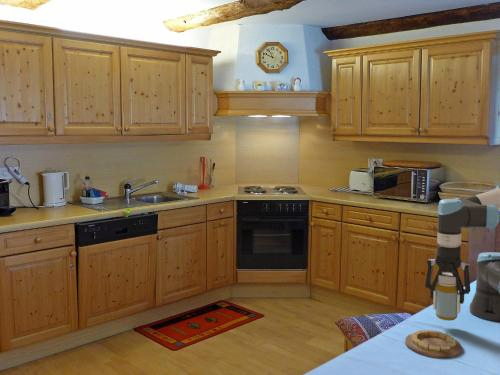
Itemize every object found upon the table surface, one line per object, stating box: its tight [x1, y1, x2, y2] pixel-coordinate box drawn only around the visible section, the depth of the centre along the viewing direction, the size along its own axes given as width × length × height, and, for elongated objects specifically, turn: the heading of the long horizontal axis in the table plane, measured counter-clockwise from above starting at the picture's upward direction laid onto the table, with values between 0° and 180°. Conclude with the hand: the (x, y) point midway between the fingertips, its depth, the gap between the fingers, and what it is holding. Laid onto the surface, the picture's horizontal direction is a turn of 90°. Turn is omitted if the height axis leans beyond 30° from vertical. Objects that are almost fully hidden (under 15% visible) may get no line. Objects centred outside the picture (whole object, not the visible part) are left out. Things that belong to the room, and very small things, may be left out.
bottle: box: [435, 272, 459, 322], centre depth 181 cm, size 7×7×15 cm
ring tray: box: [404, 329, 463, 359], centre depth 168 cm, size 17×17×2 cm
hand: (446, 310), depth 181 cm, fingers closed on bottle, 7 cm apart
